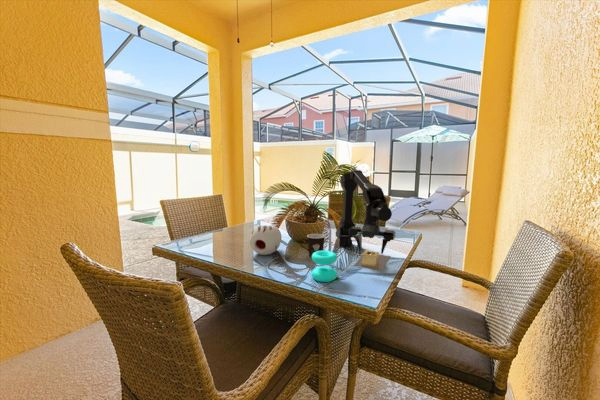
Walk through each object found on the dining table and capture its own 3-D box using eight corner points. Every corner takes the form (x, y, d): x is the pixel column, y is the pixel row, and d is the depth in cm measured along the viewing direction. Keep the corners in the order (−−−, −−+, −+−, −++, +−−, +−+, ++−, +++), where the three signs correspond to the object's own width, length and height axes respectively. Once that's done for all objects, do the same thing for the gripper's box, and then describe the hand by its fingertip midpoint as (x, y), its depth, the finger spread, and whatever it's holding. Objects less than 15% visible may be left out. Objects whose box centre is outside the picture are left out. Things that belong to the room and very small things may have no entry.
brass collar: (375, 267, 116) (376, 256, 115) (361, 265, 118) (362, 254, 118) (378, 263, 121) (379, 252, 120) (365, 261, 124) (365, 250, 123)
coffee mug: (326, 254, 137) (327, 234, 136) (320, 259, 130) (321, 239, 128) (305, 251, 142) (305, 232, 141) (298, 256, 135) (298, 236, 133)
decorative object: (287, 248, 147) (286, 221, 145) (274, 260, 129) (274, 229, 127) (260, 246, 151) (259, 219, 149) (244, 257, 133) (243, 227, 131)
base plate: (382, 274, 113) (382, 261, 112) (353, 269, 118) (353, 256, 118) (390, 259, 130) (391, 248, 130) (365, 255, 136) (365, 244, 135)
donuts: (329, 248, 115) (342, 255, 106) (328, 271, 116) (341, 280, 107) (307, 251, 111) (318, 259, 102) (307, 275, 112) (318, 284, 103)
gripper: (345, 218, 114) (344, 254, 116) (391, 222, 106) (390, 261, 107) (352, 213, 124) (352, 247, 126) (396, 217, 115) (394, 253, 117)
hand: (371, 252), depth 119 cm, fingers open, 9 cm apart
